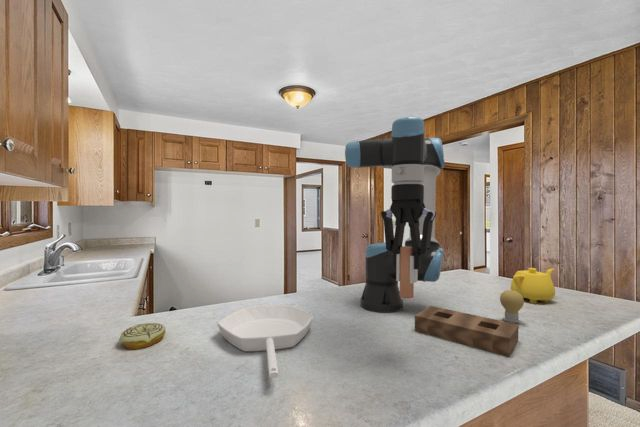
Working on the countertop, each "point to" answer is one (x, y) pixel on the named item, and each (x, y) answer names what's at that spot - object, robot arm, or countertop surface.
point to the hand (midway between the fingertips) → (406, 281)
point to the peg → (405, 273)
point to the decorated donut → (142, 335)
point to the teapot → (534, 285)
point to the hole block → (468, 329)
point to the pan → (266, 329)
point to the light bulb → (511, 305)
